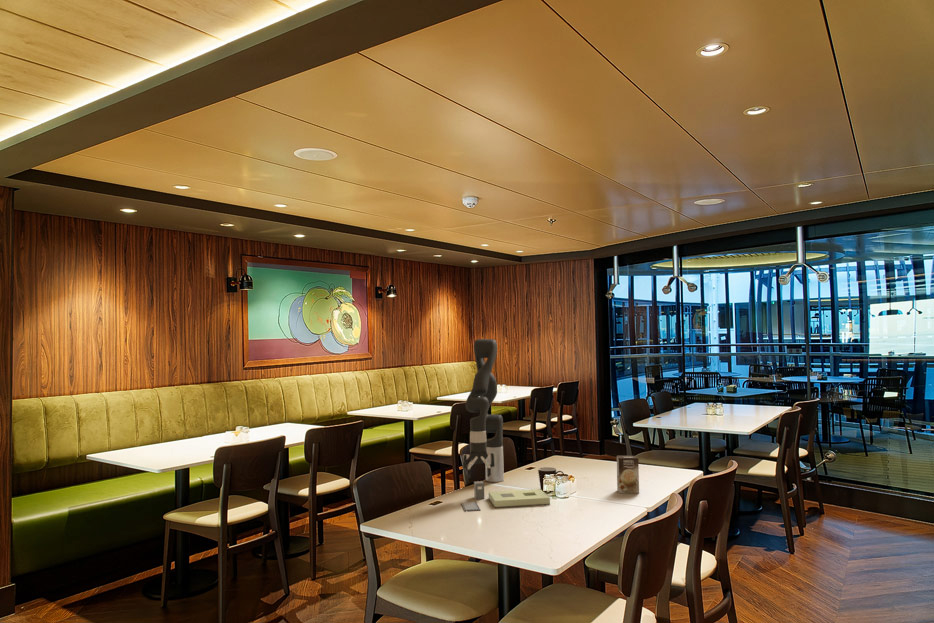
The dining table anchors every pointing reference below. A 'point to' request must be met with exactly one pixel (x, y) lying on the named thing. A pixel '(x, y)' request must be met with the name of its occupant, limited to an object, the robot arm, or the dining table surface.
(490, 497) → the outlet plate
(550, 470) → the coffee mug
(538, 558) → the dining table surface
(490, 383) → the robot arm
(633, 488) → the coffee box
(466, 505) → the phone
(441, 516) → the dining table surface
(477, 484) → the block
